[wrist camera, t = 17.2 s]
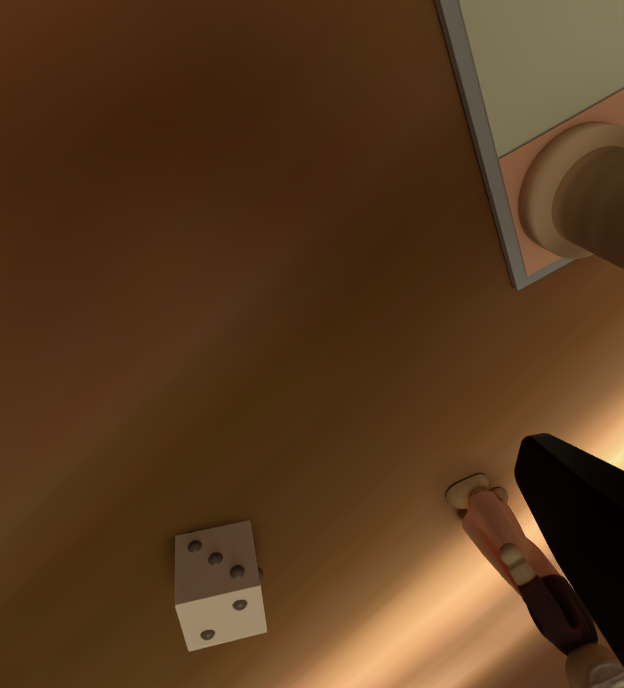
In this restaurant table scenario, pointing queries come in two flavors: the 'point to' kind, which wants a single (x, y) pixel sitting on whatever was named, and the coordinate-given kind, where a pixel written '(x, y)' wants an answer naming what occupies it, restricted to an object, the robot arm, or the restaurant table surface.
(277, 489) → the restaurant table surface
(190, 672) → the restaurant table surface
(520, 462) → the robot arm
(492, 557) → the grandmother figurine
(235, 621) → the die
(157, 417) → the restaurant table surface
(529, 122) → the board
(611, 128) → the pawn
